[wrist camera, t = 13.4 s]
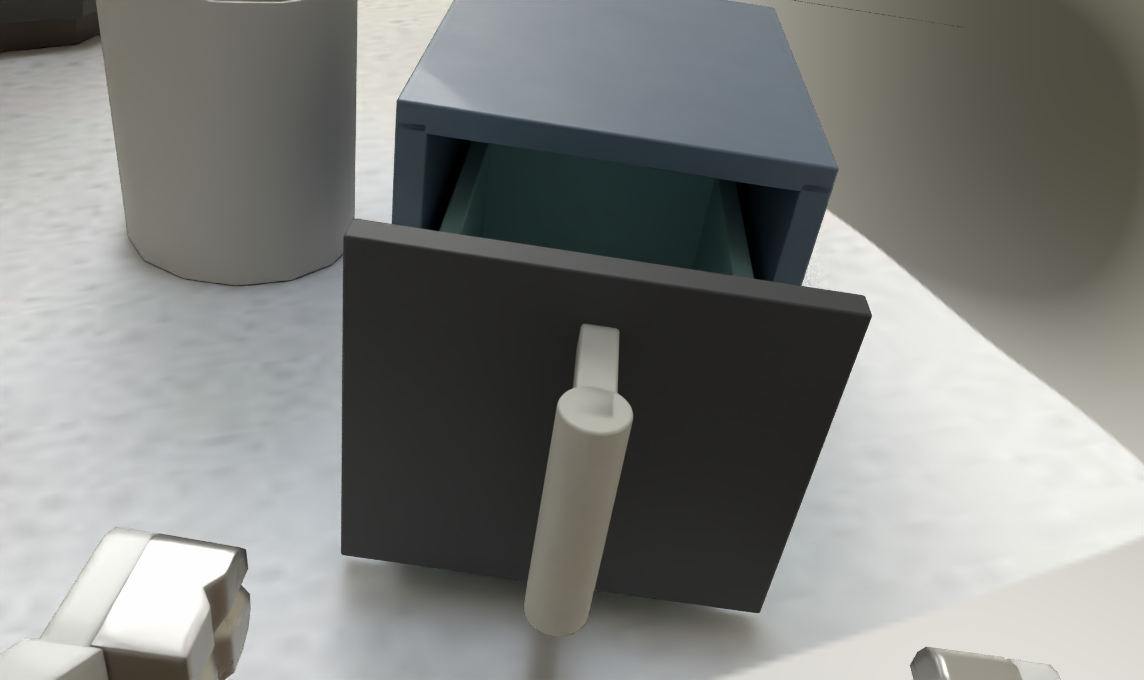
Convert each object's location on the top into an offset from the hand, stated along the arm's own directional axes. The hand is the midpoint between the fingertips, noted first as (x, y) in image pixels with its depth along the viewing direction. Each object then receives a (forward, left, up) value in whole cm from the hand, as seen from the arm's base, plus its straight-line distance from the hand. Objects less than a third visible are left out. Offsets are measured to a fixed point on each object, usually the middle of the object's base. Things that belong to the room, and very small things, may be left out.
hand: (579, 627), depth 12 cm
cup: (+15, +25, -11) cm, 30 cm away
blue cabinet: (+19, +11, -10) cm, 24 cm away
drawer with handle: (+12, +7, -9) cm, 17 cm away
